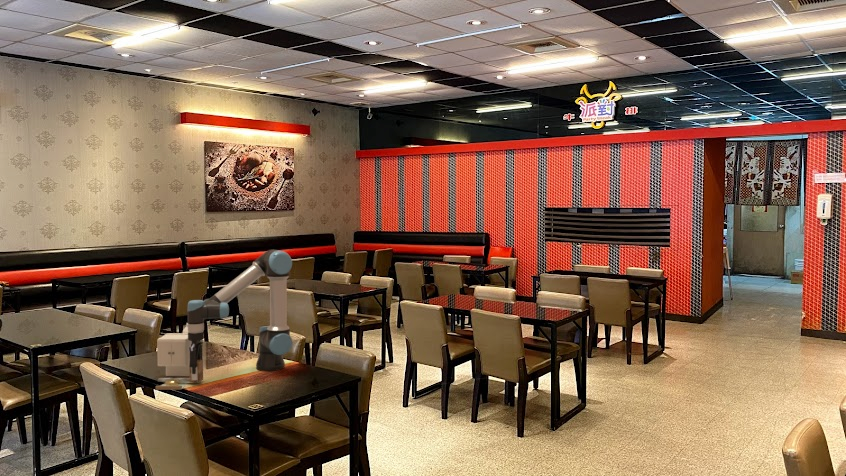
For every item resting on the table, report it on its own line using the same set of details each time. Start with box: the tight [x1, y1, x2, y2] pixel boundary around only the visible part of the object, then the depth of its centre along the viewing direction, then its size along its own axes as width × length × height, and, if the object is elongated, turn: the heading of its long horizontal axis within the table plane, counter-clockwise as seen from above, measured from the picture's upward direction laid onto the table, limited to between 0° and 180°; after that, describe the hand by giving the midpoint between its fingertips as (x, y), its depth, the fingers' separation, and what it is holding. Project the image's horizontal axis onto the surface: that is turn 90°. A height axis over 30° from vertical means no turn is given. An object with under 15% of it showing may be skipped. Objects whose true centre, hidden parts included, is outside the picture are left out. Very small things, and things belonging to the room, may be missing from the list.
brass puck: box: [166, 379, 179, 386], centre depth 318 cm, size 6×6×2 cm
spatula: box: [157, 360, 204, 383], centre depth 322 cm, size 21×5×10 cm, turn 91°
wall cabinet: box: [156, 332, 192, 377], centre depth 330 cm, size 14×14×22 cm
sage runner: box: [155, 382, 191, 391], centre depth 322 cm, size 12×20×2 cm, turn 2°
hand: (196, 378), depth 322 cm, fingers closed on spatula, 5 cm apart
